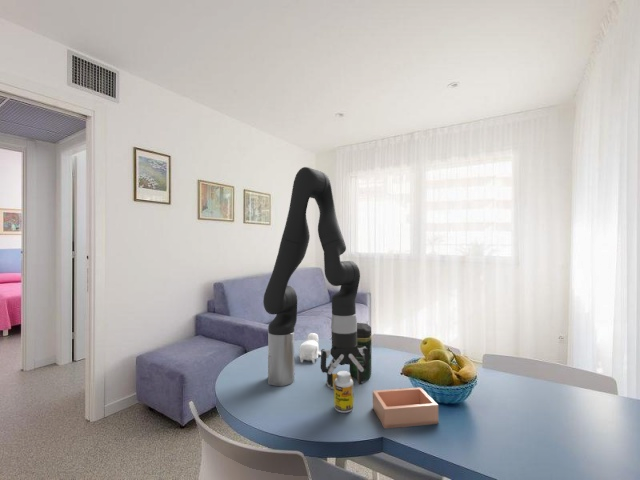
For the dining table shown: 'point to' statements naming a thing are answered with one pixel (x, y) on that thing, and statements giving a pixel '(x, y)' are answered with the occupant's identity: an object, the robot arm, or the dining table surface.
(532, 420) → the dining table surface
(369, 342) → the coffee jar
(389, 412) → the open box
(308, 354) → the white animal figurine
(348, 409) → the supplement bottle
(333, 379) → the bread roll
